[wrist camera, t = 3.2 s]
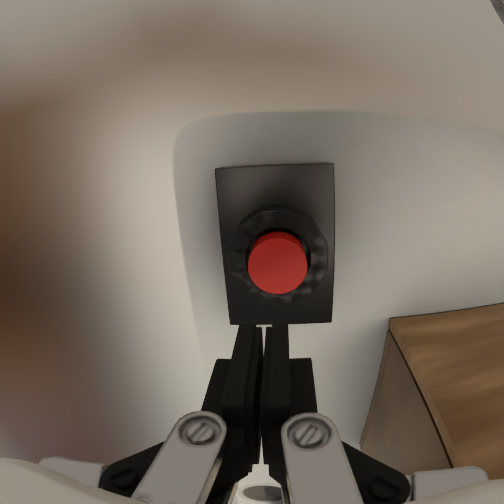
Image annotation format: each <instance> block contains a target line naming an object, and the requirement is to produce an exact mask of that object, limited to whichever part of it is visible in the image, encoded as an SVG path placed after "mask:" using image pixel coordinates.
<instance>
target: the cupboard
mask: <svg viewBox="0 0 504 504" xmlns="http://www.w3.org/2000/svg"><path fill="white" fill-rule="evenodd" d="M360 448H361V452H363V453H365V454H366V455H368V456H370V457H372V458H374V459H376V460H378V461H380V462H382V463H384V464H386V465H388V466H390V467H392V468H394V469H396V470H398V471H399V472H401V473H402V474H404V475H412V474H413V473H414V472H417V471H431V470H442V469H451V468H453V465H452V462H451V460H450V457H449V455H448V452H447V450H446V447H445V445H444V442H443V440H442V437H441V435H440V433H439V430H438V428H437V426H436V423H435V421H434V419H433V416H432V414H431V412H430V410H429V407H428V405H427V403H426V401H425V399H424V396H423V394H422V392H421V390H420V388H419V386H418V384H417V382H416V380H415V377H414V375H413V373H412V371H411V369H410V367H409V365H408V363H407V361H406V359H405V357H404V355H403V353H402V351H401V350H400V348H399V346H398V344H397V342H396V340H395V338H394V336H393V334H392V332H391V331H390V329H389V330H388V333H387V338H386V344H385V349H384V354H383V358H382V363H381V367H380V372H379V376H378V380H377V384H376V388H375V392H374V396H373V400H372V404H371V407H370V411H369V414H368V418H367V421H366V424H365V428H364V431H363V434H362V437H361V440H360Z"/></svg>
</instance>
